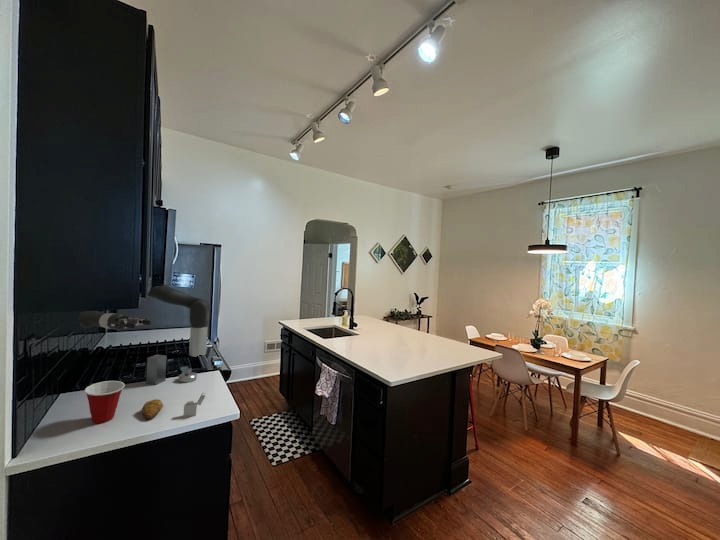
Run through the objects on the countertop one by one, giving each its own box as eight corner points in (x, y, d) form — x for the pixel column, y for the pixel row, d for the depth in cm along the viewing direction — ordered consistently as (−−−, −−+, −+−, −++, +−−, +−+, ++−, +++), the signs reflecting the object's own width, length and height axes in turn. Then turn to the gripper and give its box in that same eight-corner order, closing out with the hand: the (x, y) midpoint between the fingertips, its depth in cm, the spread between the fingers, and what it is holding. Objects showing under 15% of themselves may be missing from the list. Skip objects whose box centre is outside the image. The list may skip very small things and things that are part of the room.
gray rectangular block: (146, 383, 134) (147, 357, 134) (155, 379, 139) (156, 354, 139) (156, 384, 133) (157, 359, 133) (165, 380, 138) (166, 355, 138)
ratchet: (175, 370, 151) (176, 360, 151) (192, 368, 156) (192, 358, 156) (179, 384, 136) (179, 372, 136) (197, 381, 140) (198, 370, 140)
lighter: (183, 417, 108) (184, 396, 108) (183, 415, 110) (185, 394, 110) (204, 414, 111) (206, 393, 111) (205, 412, 113) (206, 391, 113)
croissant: (145, 405, 115) (146, 393, 115) (165, 403, 118) (166, 391, 118) (137, 423, 103) (137, 409, 103) (159, 420, 106) (160, 406, 106)
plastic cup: (99, 430, 97) (101, 394, 97) (74, 424, 99) (76, 390, 99) (130, 414, 108) (132, 382, 108) (107, 409, 110) (109, 378, 110)
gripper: (127, 325, 150) (154, 329, 148) (98, 331, 136) (128, 335, 134) (128, 311, 150) (155, 314, 148) (99, 315, 136) (129, 319, 134)
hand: (142, 324), depth 141 cm, fingers open, 8 cm apart
